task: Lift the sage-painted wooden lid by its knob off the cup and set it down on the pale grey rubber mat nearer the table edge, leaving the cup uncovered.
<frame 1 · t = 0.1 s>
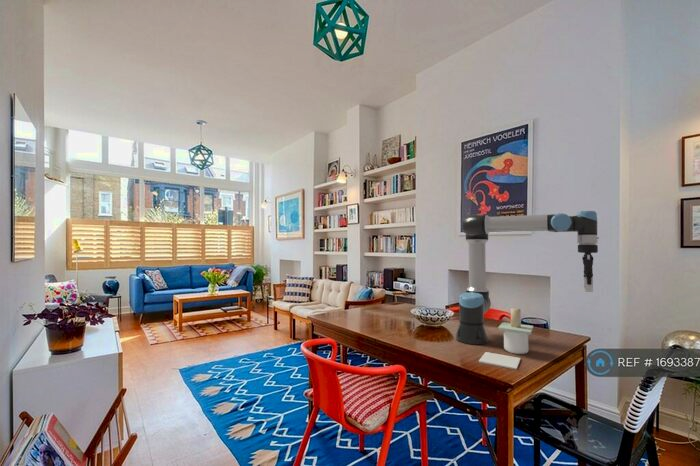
hand: (588, 290, 150), 28 cm above the table, fingers open, 13 cm apart
cup: (516, 351, 149), on the table, touching lid
lid: (515, 329, 149), point 10 cm above the table, touching cup
mat: (499, 360, 136), on the table
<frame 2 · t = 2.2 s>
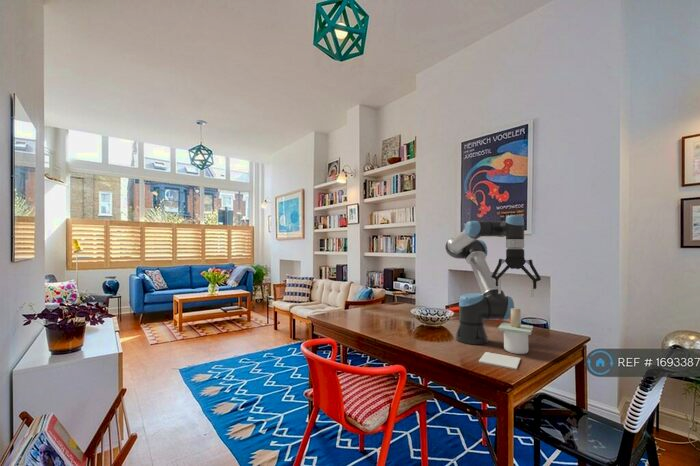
hand: (515, 294, 149), 26 cm above the table, fingers open, 13 cm apart
nothing on the table moved.
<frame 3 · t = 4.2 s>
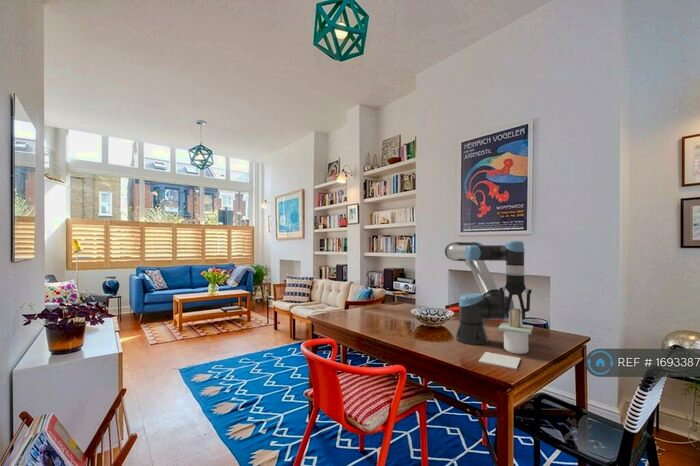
hand: (515, 325, 149), 12 cm above the table, fingers closed on lid, 4 cm apart
cup: (516, 351, 149), on the table
lid: (515, 329, 149), point 10 cm above the table, touching gripper
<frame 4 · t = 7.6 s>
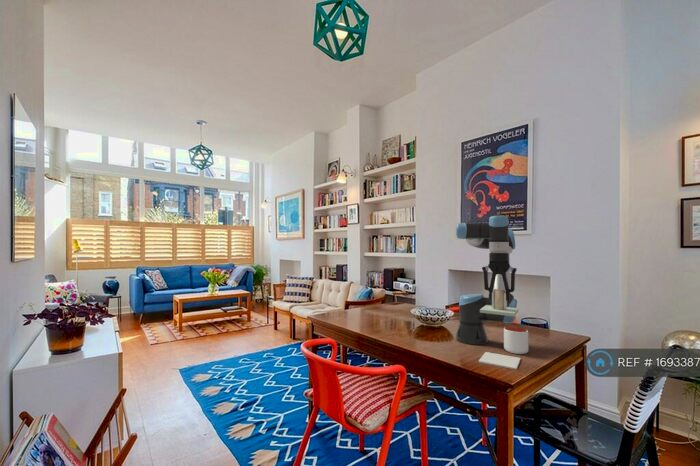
hand: (499, 307, 137), 22 cm above the table, fingers closed on lid, 4 cm apart
lid: (499, 311, 137), point 20 cm above the table, touching gripper
everything else where it was.
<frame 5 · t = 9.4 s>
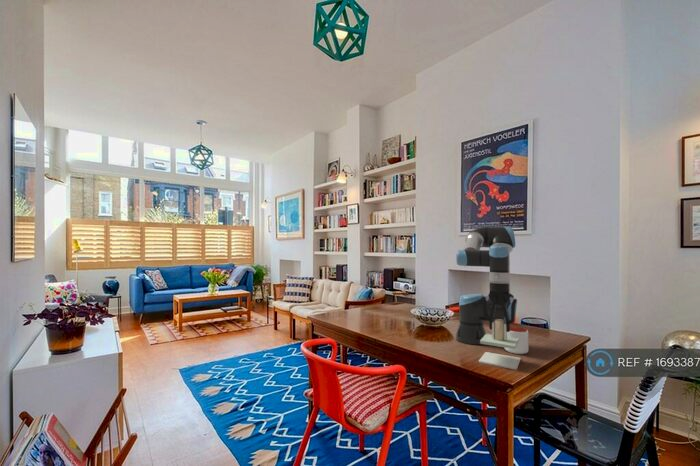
hand: (499, 338, 136), 9 cm above the table, fingers closed on lid, 4 cm apart
lid: (499, 342, 136), point 8 cm above the table, touching gripper
everything else where it was.
when the fingers open (4 cm above the table, at t = 11.0 s): lid drops 1 cm, resting on mat.
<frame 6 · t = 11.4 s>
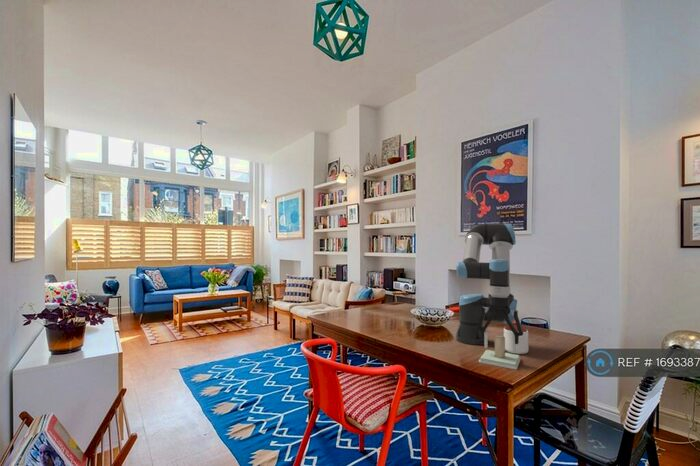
hand: (499, 349, 136), 5 cm above the table, fingers open, 10 cm apart
lid: (499, 359, 136), point 1 cm above the table, touching mat
everything else where it was.
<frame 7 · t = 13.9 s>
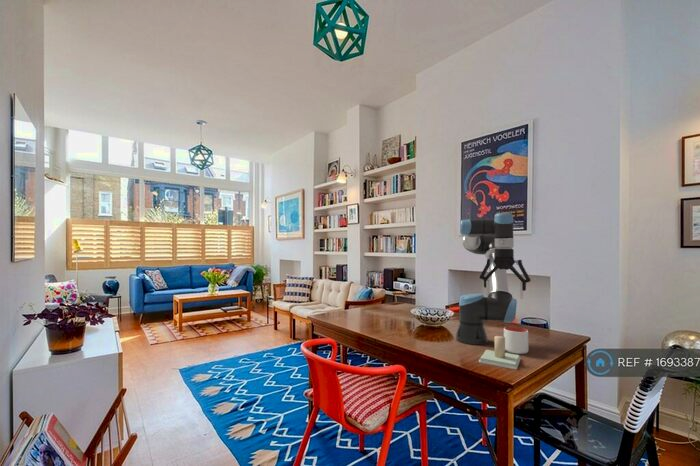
hand: (504, 296, 143), 26 cm above the table, fingers open, 13 cm apart
nothing on the table moved.
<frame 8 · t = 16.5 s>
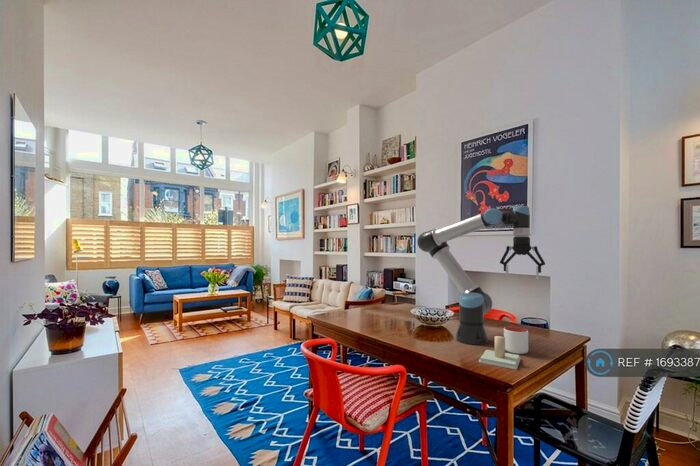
hand: (522, 278, 164), 32 cm above the table, fingers open, 13 cm apart
nothing on the table moved.
at the end: lid inside the target area on the mat (0.0 cm from its centre), point 0.6 cm above the mat's base; lid touching mat; cup moved 0.3 cm from its start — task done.
